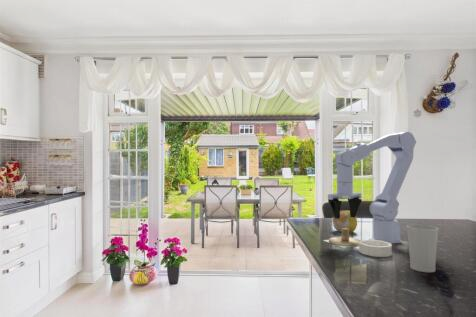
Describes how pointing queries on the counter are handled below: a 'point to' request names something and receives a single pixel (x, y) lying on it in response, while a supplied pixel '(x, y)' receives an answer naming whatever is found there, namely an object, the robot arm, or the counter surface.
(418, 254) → the cup
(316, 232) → the counter surface
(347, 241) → the lid
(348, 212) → the fruit
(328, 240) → the mat
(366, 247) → the bowl
